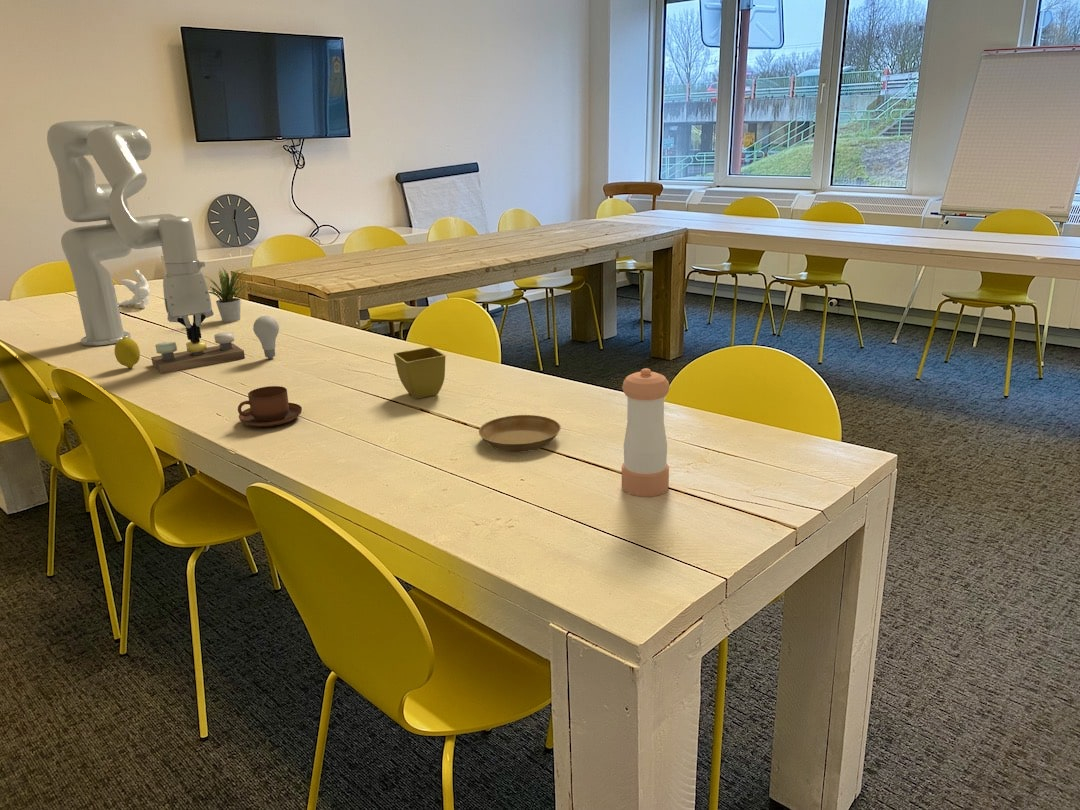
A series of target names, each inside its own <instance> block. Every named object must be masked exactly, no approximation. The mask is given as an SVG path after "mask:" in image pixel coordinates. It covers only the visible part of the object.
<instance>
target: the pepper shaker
mask: <svg viewBox="0 0 1080 810" xmlns="http://www.w3.org/2000/svg"><path fill="white" fill-rule="evenodd" d="M670 387H671V386H670V382H669V380H668V379H667V377H666V376H665V375H663V374H662V373H658V372H655V371H651V369H650V368H647V367H646V368H642V369H641V370H640V371H636V372H634V373H633V372H632V373H631V374H629V375H627V376H626V377H625V379H624V380H623V383H622V386H621V389H622V391H623V394H624V395H625V397H627V407H626V408H627V409H626V410H627V412H626V413H627V414H626V416H627V417H626V419H627V423H626V428H625V433H624V434H625V435H624V442H623V463H622V465H621V488H622V490H623V491H624V492H625V493H627V494H630V495H631V496H636V497H644V498H645V497H646V498H647V497H648V498H649V497H657V496H660V495H663V494H665V493H666V492H667V491H668V490H669V487H670V485H669V482H670V467H669V464H668V463H667V461H668V460H667V459H668V458H667V457H668V456H667V455H668V440H667V434H666V426H665V397H667V395H668V393H669V390H670Z"/></svg>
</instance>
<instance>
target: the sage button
mask: <svg viewBox="0 0 1080 810" xmlns="http://www.w3.org/2000/svg"><path fill="white" fill-rule="evenodd" d="M155 351H156V353H157V354H160V356H161V355H162V361H168V360H174V353H176V351H178V348H177V344H176V342H175V341H165V342H159V343H157V344H155Z"/></svg>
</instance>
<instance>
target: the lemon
mask: <svg viewBox="0 0 1080 810" xmlns="http://www.w3.org/2000/svg"><path fill="white" fill-rule="evenodd" d="M114 356H115V358H116V361H117V362H118V363H119V364H120V365H122V366H124V367H126V368H128V369H132V368H133V366H135V365H136V364H137V363H138V362H139V361H140V358H141V351H140V348H139V346H138V343H137V342H136V341H135V340H134V339H132V338H126V337H123V338H122V339H120V340H119V341H118V342H117V343H115V345H114Z"/></svg>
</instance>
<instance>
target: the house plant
mask: <svg viewBox="0 0 1080 810" xmlns="http://www.w3.org/2000/svg"><path fill="white" fill-rule="evenodd" d="M221 268H222V270H221V269H220V268H218V270H219V271H218V277H219V282H220V283H219V284H220V286H221V288H220V287H219V286H218V285H217V283H216V282H215V281H213V279H211V278H210V277H208V276H206V275H204V278H205V279H208V280H209V281H210V282H211V283H212V285H214V286H215V287H216V288H217V289H216V288H214V286H210V287H209V288H211V290H212V291H209V294H212V295H213V296H215V297H217V298H218V300H216V301H215V303H216V306H217V309H218V312H219V315H220V318H221V320H222V322H223V323H234V321H235V322H239V321H240V320H241V297H240V298H239V297H237V296H238V294H239V293H240V292H241V291H242V289H243V288H244V289H247V287H246V286H247V284H246V285H244V286H239V287H237V286H238V283H239V282H240V280H241V279H243V278H244V277H246V275H244V276H241V275H242V274H243V273H245V272H249V271H250V269H249V270H244V271H242V272H240V273H238V271H240V269H237V270H235V271H234V273H233V274H232V275H231V277H229V273H228V272H227V271H226V270H225V268H224V267H223V266H222V267H221ZM222 271H223V272H222ZM240 276H241V277H240ZM239 277H240V278H239ZM238 278H239V279H238ZM237 280H238V281H237ZM238 320H239V321H238Z"/></svg>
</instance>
